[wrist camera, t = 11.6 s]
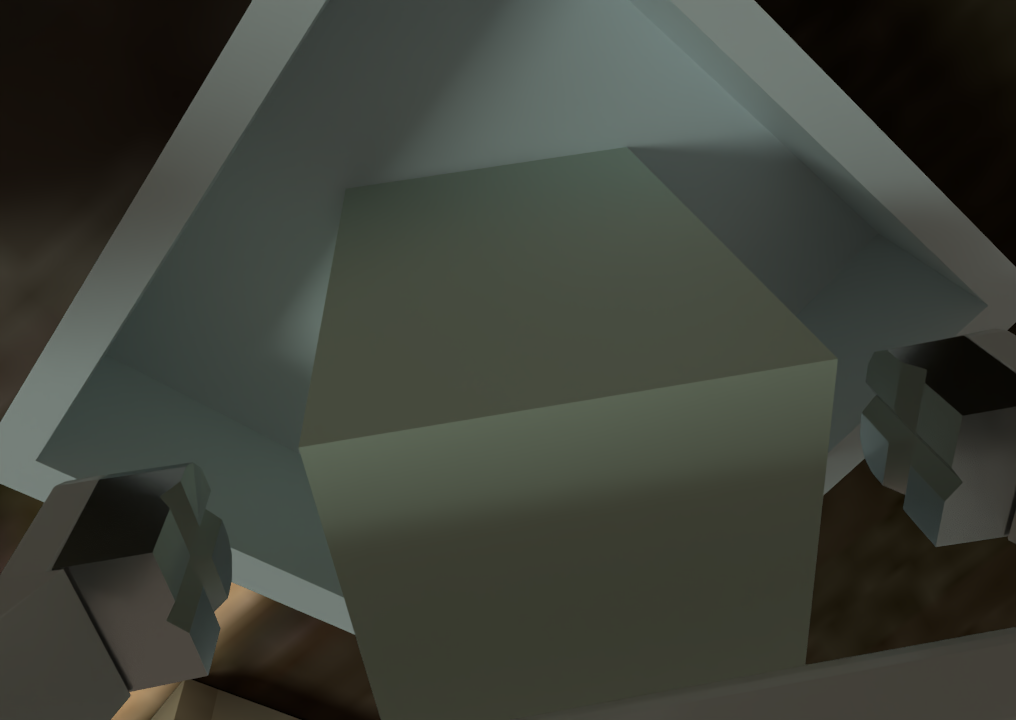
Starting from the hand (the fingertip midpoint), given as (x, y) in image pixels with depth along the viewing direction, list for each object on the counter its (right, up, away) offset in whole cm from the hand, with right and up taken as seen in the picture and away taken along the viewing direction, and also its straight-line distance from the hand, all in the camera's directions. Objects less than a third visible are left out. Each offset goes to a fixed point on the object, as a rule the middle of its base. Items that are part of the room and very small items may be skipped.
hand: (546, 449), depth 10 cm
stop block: (0, +2, +4) cm, 5 cm away
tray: (-1, +2, +4) cm, 5 cm away
